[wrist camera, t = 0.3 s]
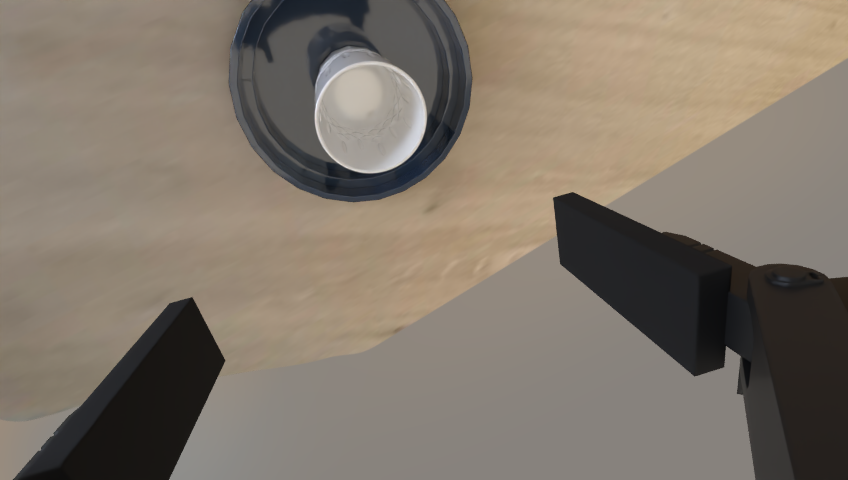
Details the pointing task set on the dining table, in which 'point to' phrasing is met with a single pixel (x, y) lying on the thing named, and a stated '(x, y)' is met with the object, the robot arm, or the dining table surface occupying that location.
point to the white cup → (367, 111)
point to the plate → (297, 73)
